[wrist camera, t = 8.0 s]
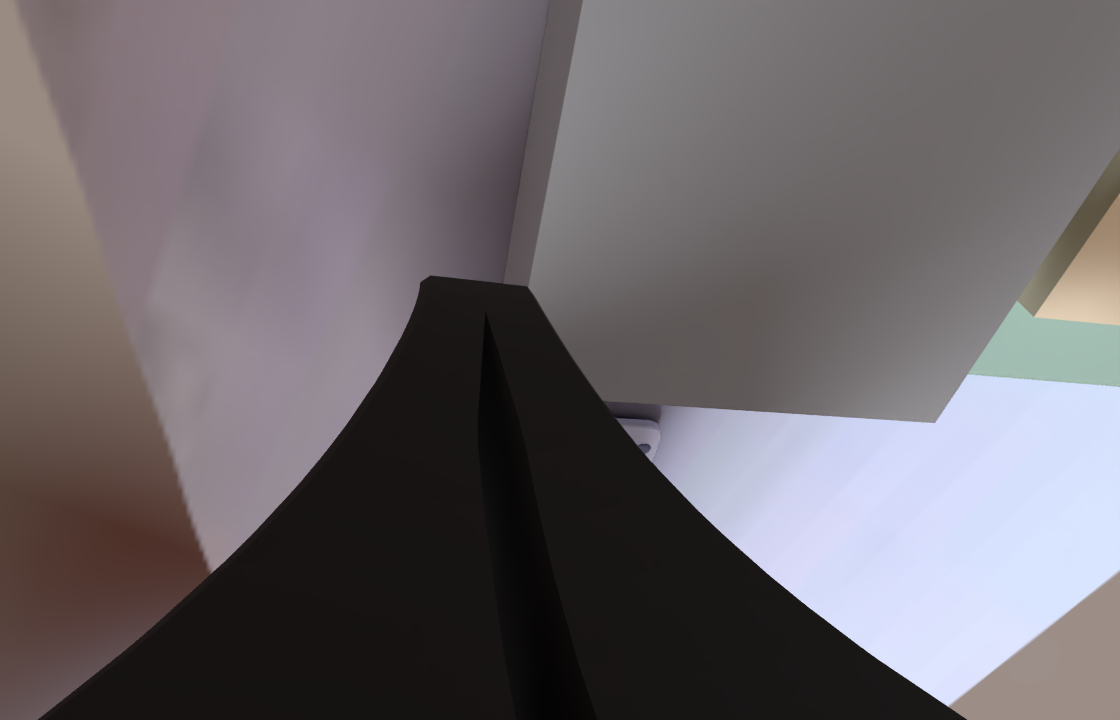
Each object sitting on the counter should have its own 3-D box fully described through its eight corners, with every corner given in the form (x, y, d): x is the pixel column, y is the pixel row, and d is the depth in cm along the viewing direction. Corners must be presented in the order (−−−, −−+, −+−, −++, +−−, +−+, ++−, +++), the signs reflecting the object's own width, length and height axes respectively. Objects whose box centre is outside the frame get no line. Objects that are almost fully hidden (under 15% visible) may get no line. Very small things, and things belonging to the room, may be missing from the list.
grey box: (873, 335, 24) (934, 422, 21) (500, 301, 22) (508, 394, 19) (1168, -201, 16) (1343, -186, 13) (608, -355, 13) (656, -384, 10)
